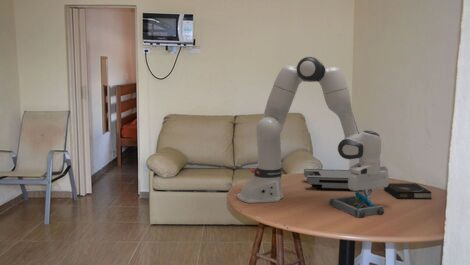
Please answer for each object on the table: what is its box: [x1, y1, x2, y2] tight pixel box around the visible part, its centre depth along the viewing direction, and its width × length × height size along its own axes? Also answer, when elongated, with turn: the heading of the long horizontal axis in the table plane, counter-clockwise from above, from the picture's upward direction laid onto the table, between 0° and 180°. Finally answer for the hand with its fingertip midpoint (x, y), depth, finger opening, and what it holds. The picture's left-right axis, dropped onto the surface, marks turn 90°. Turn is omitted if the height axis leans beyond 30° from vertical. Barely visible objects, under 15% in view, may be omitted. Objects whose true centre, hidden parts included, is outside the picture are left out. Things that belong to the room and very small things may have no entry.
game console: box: [303, 168, 363, 193], centre depth 227 cm, size 21×32×8 cm, turn 86°
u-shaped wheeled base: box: [329, 195, 385, 219], centre depth 187 cm, size 14×20×3 cm, turn 24°
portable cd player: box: [383, 182, 433, 200], centre depth 212 cm, size 16×17×4 cm
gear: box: [353, 191, 375, 209], centre depth 188 cm, size 11×6×10 cm
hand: (368, 198), depth 189 cm, fingers closed
